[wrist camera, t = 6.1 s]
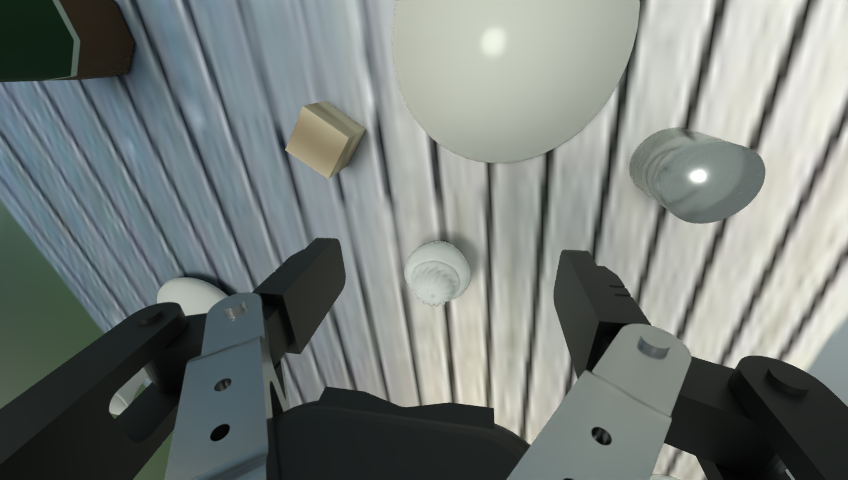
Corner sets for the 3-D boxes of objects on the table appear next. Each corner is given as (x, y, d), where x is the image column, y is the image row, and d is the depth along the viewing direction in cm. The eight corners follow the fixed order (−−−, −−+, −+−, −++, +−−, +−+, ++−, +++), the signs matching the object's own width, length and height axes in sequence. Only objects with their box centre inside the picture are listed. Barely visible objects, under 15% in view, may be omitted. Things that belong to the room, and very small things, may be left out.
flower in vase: (252, 288, 39) (-35, 559, 18) (251, 346, 45) (34, 603, 23) (154, 253, 39) (-252, 480, 18) (165, 315, 45) (-129, 544, 23)
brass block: (347, 165, 29) (328, 178, 26) (309, 140, 29) (285, 150, 25) (366, 129, 27) (348, 138, 24) (326, 100, 27) (302, 105, 23)
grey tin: (643, 202, 26) (681, 236, 21) (619, 152, 25) (654, 175, 19) (713, 170, 24) (774, 198, 19) (691, 113, 23) (752, 127, 17)
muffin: (415, 277, 34) (399, 323, 28) (409, 227, 31) (390, 265, 25) (472, 279, 33) (469, 327, 27) (472, 227, 30) (468, 268, 24)
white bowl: (470, 192, 28) (469, 198, 27) (355, 23, 23) (347, 20, 22) (667, 73, 22) (678, 74, 20) (562, -196, 17) (568, -218, 16)
